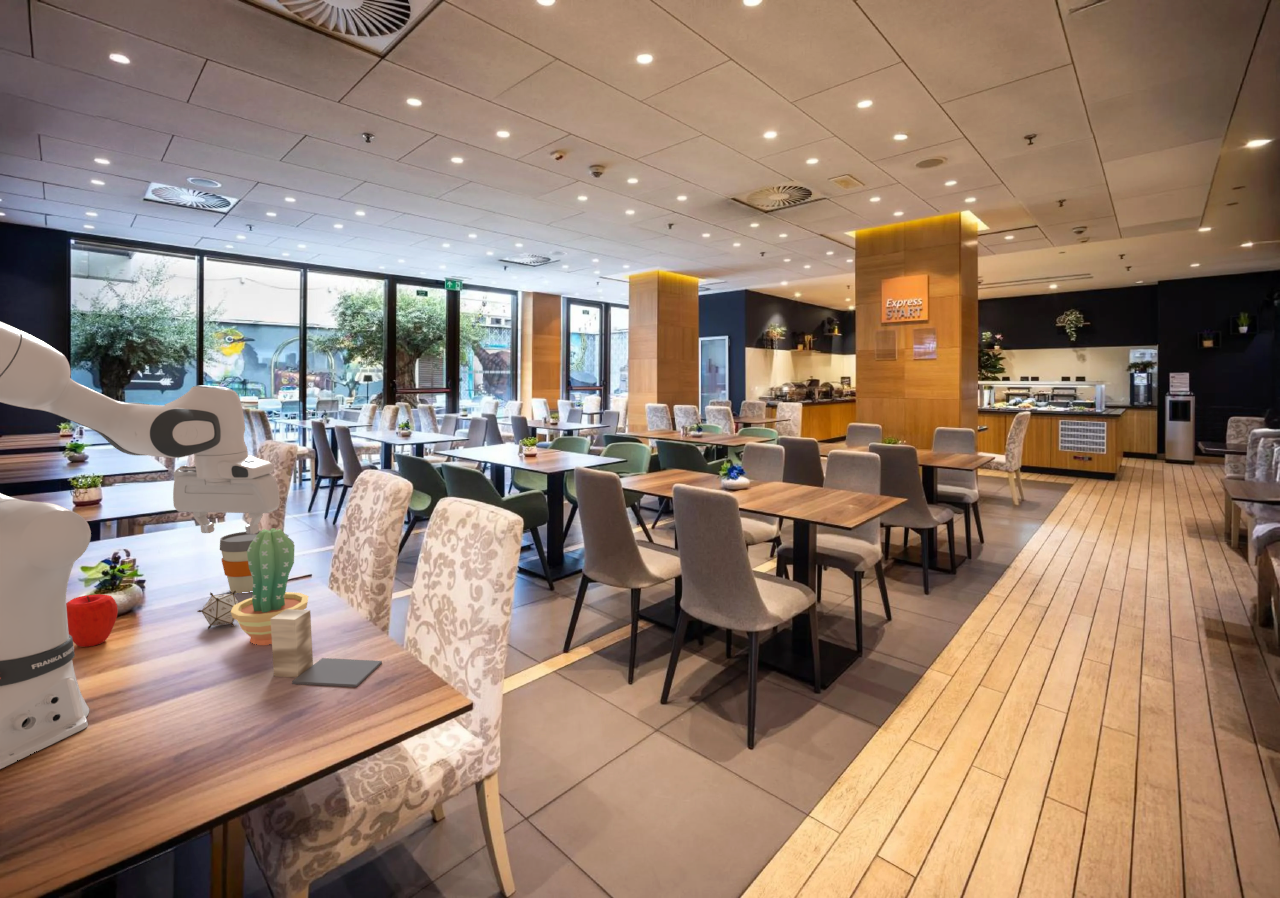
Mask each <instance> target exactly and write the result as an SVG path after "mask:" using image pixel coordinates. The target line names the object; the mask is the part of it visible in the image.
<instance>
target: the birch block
mask: <svg viewBox="0 0 1280 898" xmlns="http://www.w3.org/2000/svg"><path fill="white" fill-rule="evenodd" d="M271 635H272V644H271V649H272V668H273V677H279V678H280V677H281V678H295V679H296V678H297V677H298V676H300V675H301V674H302V673H304V672H305V671H306V670H307V669H309V668H310V667H311V666H313V665H314V661H313V660H314V657H313V639H312V638H313V637H312V619H311V610H310V609H304V610H294V609H286V610H285V611H283V612H281V613H279V614H278V615H276V616H274V617H273V618H271Z"/></svg>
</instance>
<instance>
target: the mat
mask: <svg viewBox="0 0 1280 898" xmlns="http://www.w3.org/2000/svg"><path fill="white" fill-rule="evenodd" d="M382 664H383V661H382V660H372V659H371V660H370V659H369V660H368V659H348V658H329V657H328V658H326V657H325V658H324V657H321V658H320V659H319V660H318V661H316V663H313V666H311V667H310V668H309V669H307V670H306V671H305V672H304V673H302V674H301V675H300V676H298V677H297V678H296V677H295V678H294V679H293V680H292V681H291V684H292V685H308V686H309V685H310V686H314V685H315V686H330V687H347V688H348V687H349V688H350V687H351V688H357V687H358V686H359V685H361V683H363V682H364V681H365V680H366V679H367V678H368V677H369V676H370V675H371V674H372V673H373V672H374V671H375V670H377V669H378V668H379V666H380V665H382Z"/></svg>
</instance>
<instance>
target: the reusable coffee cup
mask: <svg viewBox="0 0 1280 898" xmlns="http://www.w3.org/2000/svg"><path fill="white" fill-rule="evenodd" d="M260 531H261V530H259V531H258V533H259V532H260ZM258 533H255V534H246V531H241V532H235V533H230V534H226V535H224V536H221V538H220V539H219V550H220V552H221V555H222V558H221V563H222V568H223V571H224V576H227V578H226V579H227V581H228V582H227V583H228V586H229V590H230V593H231V594H232V593H233V592H234V591H235V590H236V592H235V594H236V593H242V592H250V591H253V577H252V575H251V572H250V570H249V565H248V556H247V550H248V548H249V546H250V544H251V542H252V541H253V540H254V538H255V537H256V536H257V534H258Z"/></svg>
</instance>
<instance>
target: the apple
mask: <svg viewBox="0 0 1280 898" xmlns="http://www.w3.org/2000/svg"><path fill="white" fill-rule="evenodd" d="M66 606H67V619H68V632H69V635H71V636H72V639H73V644H75V645H77V647H82V648H87V647H94V646H98V645H101V644H102V643H104V642H105V641H106V640H107V639H108V638H109V636H110V635H111V633H112V630H113V629H114V626H115V623H116V621H117V618H118V613H119V611H118V605H117V601H116V600H115V598H114V597H113V596H112V595H108V594H101V593H98V594H97V593H96V594H89V595H88V594H87V595H82V596H78V597H74V598H72V599H70V600H68V601H66Z"/></svg>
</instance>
